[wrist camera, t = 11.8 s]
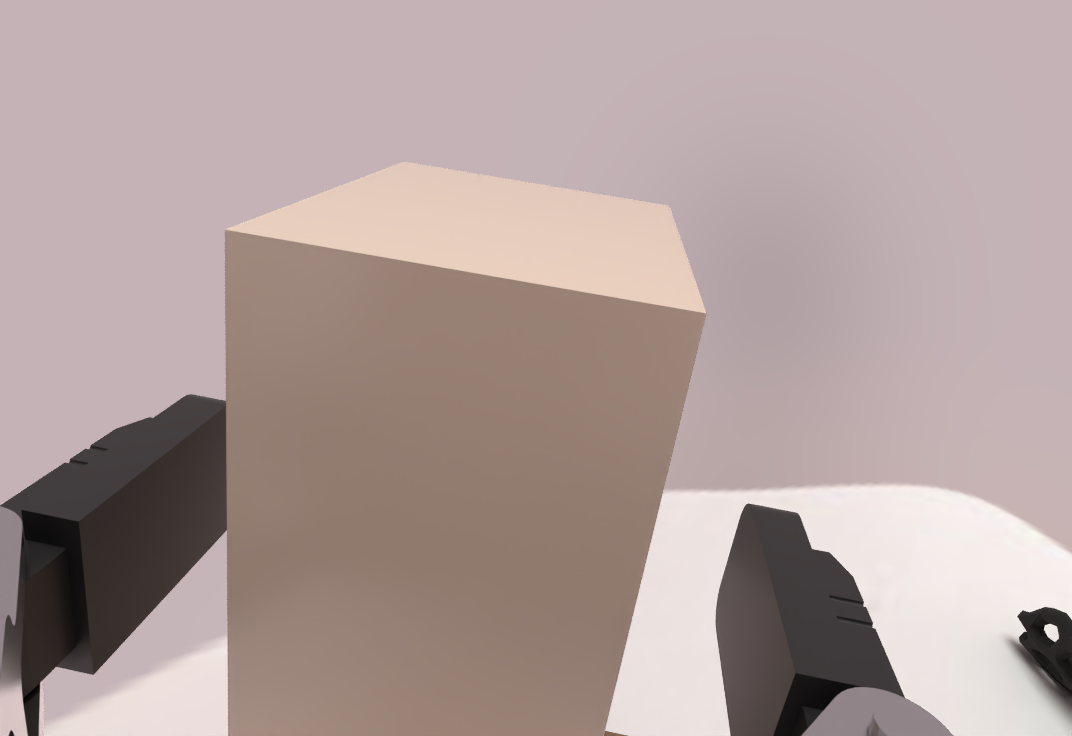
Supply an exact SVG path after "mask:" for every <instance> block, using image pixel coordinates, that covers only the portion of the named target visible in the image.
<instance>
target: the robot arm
mask: <svg viewBox="0 0 1072 736" xmlns="http://www.w3.org/2000/svg"><path fill="white" fill-rule="evenodd" d="M226 530H227V469H226V401H223V400H218V399H213V398H207V397H203V396H197V395H186V396H185V397H183V398H181V399H180V400H179V401H177V402H176V403H174V404H173V405H171V406H170V407H169V408H167V409H166V410H164V411H163V412H161V413H160V414H158V415H157V416H155V417H154V418H150V417H149V418H146V419H143V420H141V421H137V422H135V423H132V424H129V425H126V426H123V427H120V428H117V429H115V430H113V431H112V432H110V433H109V434H107V435H106V436H104V437H103V438H101V439H100V440H98V441H97V442H95V443H94V444H92V445H91V447H90V449H85V450H83V451H82V452H80V453H79V454H77V455H76V456H74V457H73V458H71V459H70V462H69V463H64V464H62V465H61V466H59V467H58V468H56V469H54V470H53V471H51V472H50V473H49V474H47V475H46V476H44V477H42V478H41V479H39V480H38V481H36V482H35V483H34V484H32V485H31V486H29V487H27V488H26V489H24V490H23V491H21V492H20V493H18V494H17V495H16V496H14V497H13V498H11V499H9V500H8V501H6V502H5V503H4V504H2V505H0V736H44V691H43V684H42V680H43V679H44V678H45V677H46V676H47V675H48V674H49V673H50V672H51V671H52V670H53V669H54V668H55V667H60V668H65V669H69V670H74V671H79V672H83V673H87V674H92V675H93V674H95V673H96V671H97V670H98V669H99V668H100V667H101V666H102V665H103V664H104V663H105V662H106V661H107V659H108V658H109V657H110V656H111V655H112V654H113V653H114V652H115V651H116V650H117V649H118V648H119V646H120V645H121V644H122V643H123V642H124V641H125V640H126V639H127V638H128V637H129V636H130V635H131V633H132V632H133V631H134V630H135V629H136V628H137V627H138V626H139V625H140V624H141V623H142V621H143V620H144V619H145V618H146V617H147V616H148V615H149V614H150V613H151V612H152V611H153V609H154V608H155V607H156V606H157V605H158V604H159V603H160V602H161V601H162V600H163V599H164V598H165V597H166V595H167V594H168V593H169V592H170V591H171V590H172V589H173V588H174V587H175V585H177V583H178V582H179V581H180V580H181V579H182V578H183V577H184V576H185V575H186V574H187V573H188V571H189V570H190V569H191V568H192V567H193V566H194V565H195V564H196V563H197V562H198V561H199V559H200V558H201V557H202V556H203V555H204V554H205V553H206V552H207V551H208V550H209V549H210V548H211V547H212V545H213V544H214V543H215V542H216V541H217V540H218V539H219V538H220V537H221V536H222V535H223V533H224V532H225V531H226ZM863 604H864V601H863V599H862V597H861V594H860V592H859V590H858V587H857V585H856V583H855V580H854V578H853V576H852V575H851V574H850V573H849V572H848V571H847V570H846V569H845V568H844V567H843V566H842V565H841V564H840V563H839V562H838V561H837V560H836V559H835V558H834V557H833V556H832V555H831V554H830V553H829V552H824V551H819V550H814V549H812V548H811V545H810V543H809V540H808V537H807V534H806V532H805V529H804V526H803V523H802V521H801V518H800V516H799V514H798V513H795V512H790V511H785V510H779V509H774V508H769V507H764V506H759V505H754V504H747V505H746V506H745V507H744V509H743V511H742V514H741V516H740V520H739V523H738V527H737V530H736V533H735V537H734V540H733V544H732V547H731V551H730V554H729V557H728V561H727V564H726V568H725V571H724V575H723V578H722V582H721V585H720V589H719V594H718V599H717V607H716V632H717V640H718V647H719V654H720V661H721V669H722V676H723V683H724V690H725V698H726V705H727V712H728V719H729V727H730V734H731V736H953V735H952V734H951V733H950V731H949V730H948V729H947V728H946V727H945V726H944V725H943V724H942V723H941V722H940V721H939V720H937V719H936V718H935V717H934V716H933V715H931V714H930V713H929V712H927V711H926V710H924V709H923V708H922V707H920V706H919V705H917V704H915V703H913V702H911V701H910V700H908V699H906V698H905V697H904V695H903V692H902V690H901V688H900V685H899V683H898V681H897V678H896V676H895V674H894V671H893V669H892V667H891V664H890V662H889V660H888V657H887V655H886V653H885V650H884V648H883V646H882V643H881V641H880V639H879V636H878V634H877V632H876V629H874V628H872V625H873V622H872V620H871V618H870V615H869V613H868V611H867V608H866V607H863Z"/></svg>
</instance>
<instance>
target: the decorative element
mask: <svg viewBox="0 0 1072 736" xmlns="http://www.w3.org/2000/svg"><path fill="white" fill-rule="evenodd" d="M1017 617H1018V618H1019V620H1020V621H1021V623H1022V624H1023V626H1024V628H1025V629H1026V631H1027V632H1024V633H1023V634H1022V635H1021V636H1020V637H1019V640H1020V643H1021V644H1022V645H1023V646H1024V647H1025V648H1026V649H1027V650H1028V651H1029V652H1030V653H1031V654H1032V655H1033V656H1034V658H1035V659H1036V660H1037V661H1038V662H1039V663H1040V664H1041V665H1042V666H1043V667H1044V668H1045V669H1046V670H1047V671H1048V672H1049V673H1050V674H1051V675H1052V676H1053V677H1054V678H1055V679H1056V680H1058V681H1059V682H1060V683H1061V684H1062V685H1063V686H1065V687H1066V688H1067V689H1068V690H1070V691H1071V692H1072V620H1071V618H1070V617H1069V616H1068V614H1067V613H1064V612H1062V611H1059V610H1057V609H1054V608H1048V607H1044V608H1041V609H1038V610H1035V611H1033V612H1026V611H1023V610H1022V612H1021V613H1020V614H1019V615H1018V616H1017ZM1047 624H1053V625H1055V626H1057V628H1058V633H1059V639H1058V640H1057V641H1056V642H1054V641H1052V640H1051V639H1050V638H1048V637H1047V635H1046V633H1045V631H1044V626H1045V625H1047Z"/></svg>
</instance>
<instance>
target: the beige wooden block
mask: <svg viewBox="0 0 1072 736" xmlns="http://www.w3.org/2000/svg"><path fill="white" fill-rule="evenodd" d="M225 316H226V317H225V318H226V319H225V320H226V322H225V324H226V469H227V606H228V607H227V610H228V611H227V614H228V736H603V735H604V731H605V727H606V723H607V719H608V715H609V711H610V707H611V703H612V698H613V694H614V690H615V686H616V682H617V678H618V674H619V670H620V666H621V662H622V657H623V653H624V649H625V645H626V641H627V637H628V633H629V629H630V625H631V621H632V616H633V612H634V608H635V604H636V600H637V596H638V592H639V588H640V584H641V580H642V575H643V571H644V567H645V563H646V559H647V555H648V551H649V547H650V543H651V539H652V534H653V530H654V526H655V522H656V518H657V514H658V510H659V506H660V502H661V498H662V493H663V489H664V485H665V481H666V476H667V473H668V469H669V465H670V460H671V457H672V452H673V448H674V444H675V440H676V436H677V432H678V428H679V423H680V420H681V416H682V411H683V407H684V403H685V399H686V395H687V390H688V387H689V383H690V379H691V374H692V370H693V366H694V362H695V358H696V354H697V350H698V345H699V342H700V337H701V334H702V329H703V325H704V321H705V317H706V311H705V308H704V305H703V302H702V299H701V297H700V293H699V291H698V288H697V285H696V282H695V279H694V276H693V273H692V270H691V267H690V265H689V261H688V259H687V256H686V253H685V250H684V247H683V245H682V241H681V238H680V236H679V233H678V230H677V227H676V224H675V221H674V218H673V215H672V212H671V210H670V206H667V205H661V204H655V203H649V202H643V201H637V200H631V199H625V198H619V197H613V196H607V195H601V194H595V193H589V192H584V191H577V190H572V189H566V188H559V187H554V186H548V185H542V184H536V183H530V182H524V181H518V180H512V179H506V178H500V177H494V176H488V175H481V174H476V173H470V172H464V171H458V170H452V169H446V168H440V167H434V166H428V165H422V164H416V163H410V162H402V163H399V164H397V165H394V166H391V167H389V168H386V169H383V170H381V171H378V172H375V173H373V174H370V175H368V176H365V177H362V178H360V179H357V180H355V181H352V182H349V183H347V184H344V185H341V186H339V187H336V188H333V189H331V190H328V191H325V192H323V193H320V194H317V195H315V196H312V197H309V198H307V199H304V200H302V201H299V202H297V203H294V204H291V205H288V206H286V207H283V208H280V209H278V210H275V211H273V212H270V213H267V214H265V215H262V216H260V217H257V218H254V219H252V220H249V221H247V222H244V223H241V224H238V225H236V226H233V227H230V228H228V229H226V230H225Z"/></svg>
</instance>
